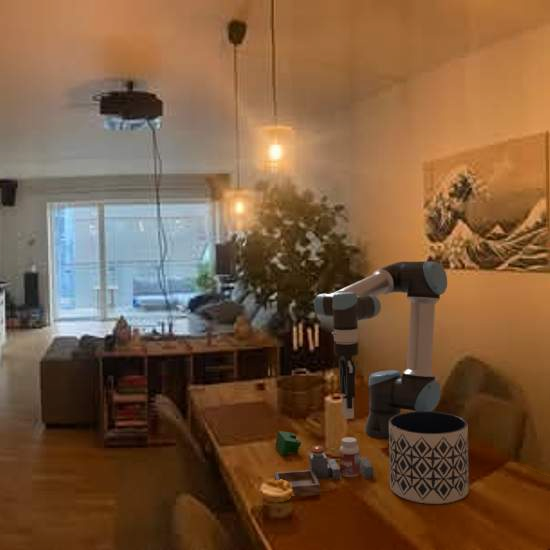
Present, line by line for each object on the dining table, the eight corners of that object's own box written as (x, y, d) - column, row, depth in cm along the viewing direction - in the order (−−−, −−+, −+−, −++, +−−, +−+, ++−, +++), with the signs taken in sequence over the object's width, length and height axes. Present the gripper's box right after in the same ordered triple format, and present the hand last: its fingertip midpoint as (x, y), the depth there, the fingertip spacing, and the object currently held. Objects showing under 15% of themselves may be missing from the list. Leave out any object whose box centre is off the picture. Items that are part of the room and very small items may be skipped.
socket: (366, 467, 206) (366, 447, 206) (373, 478, 197) (372, 457, 197) (308, 471, 204) (307, 451, 204) (312, 482, 195) (312, 461, 195)
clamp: (295, 466, 221) (303, 446, 218) (279, 464, 220) (286, 443, 216) (290, 443, 232) (297, 423, 228) (274, 440, 231) (281, 421, 227)
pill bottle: (336, 475, 201) (335, 440, 200) (347, 469, 205) (346, 435, 205) (352, 479, 197) (351, 444, 196) (363, 473, 201) (362, 438, 201)
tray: (313, 479, 198) (312, 469, 198) (319, 494, 186) (319, 484, 186) (274, 481, 197) (274, 472, 196) (278, 497, 185) (278, 487, 185)
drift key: (323, 467, 202) (322, 445, 202) (325, 472, 198) (325, 449, 198) (311, 468, 202) (310, 445, 201) (313, 473, 198) (312, 450, 197)
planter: (456, 512, 172) (454, 438, 170) (378, 496, 183) (376, 427, 182) (477, 483, 190) (476, 416, 189) (405, 470, 202) (404, 407, 201)
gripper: (329, 338, 206) (331, 409, 208) (339, 347, 190) (341, 424, 191) (352, 337, 207) (354, 408, 208) (364, 346, 190) (366, 423, 192)
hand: (348, 416), depth 200 cm, fingers open, 3 cm apart
